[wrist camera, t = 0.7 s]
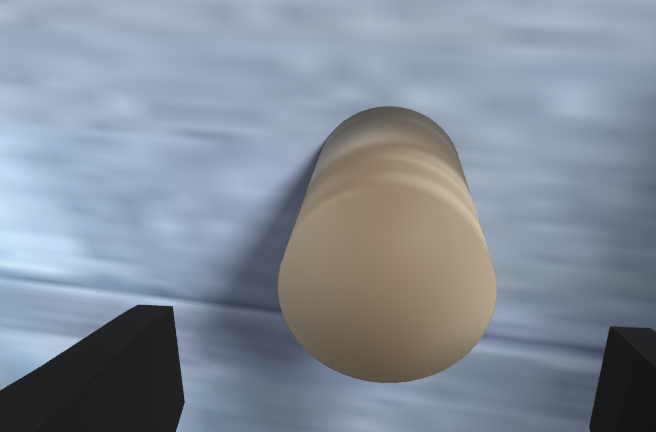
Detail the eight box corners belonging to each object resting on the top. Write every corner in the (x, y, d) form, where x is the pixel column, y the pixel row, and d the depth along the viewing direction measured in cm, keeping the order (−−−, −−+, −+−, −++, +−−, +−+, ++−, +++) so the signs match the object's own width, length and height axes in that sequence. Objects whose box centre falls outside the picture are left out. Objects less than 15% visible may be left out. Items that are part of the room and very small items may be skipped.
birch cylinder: (466, 107, 18) (508, 197, 11) (455, 244, 20) (485, 388, 13) (315, 105, 18) (273, 190, 12) (317, 239, 20) (282, 376, 14)
